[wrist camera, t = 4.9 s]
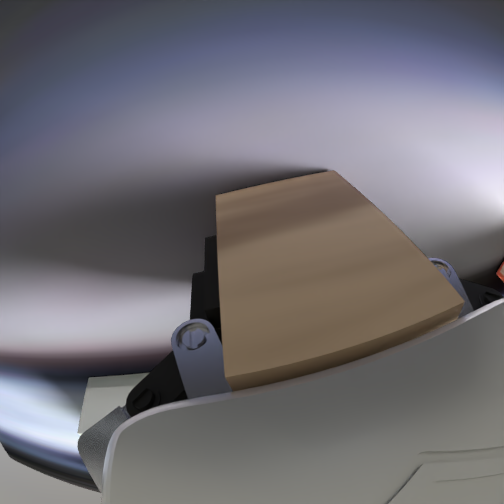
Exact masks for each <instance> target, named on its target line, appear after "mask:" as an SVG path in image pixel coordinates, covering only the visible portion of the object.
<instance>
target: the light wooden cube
mask: <svg viewBox="0 0 504 504" xmlns="http://www.w3.org/2000/svg"><path fill="white" fill-rule="evenodd" d="M216 226H217V254H218V277H219V297H220V315H221V331H222V346H223V359H224V372H225V378H226V380H227V382H228V384H229V385H230V387H231V389H232V390H233V391H238V390H243V389H248V388H253V387H258V386H263V385H268V384H272V383H277V382H281V381H285V380H289V379H294V378H297V377H301V376H305V375H309V374H313V373H316V372H320V371H323V370H327V369H330V368H333V367H337V366H340V365H343V364H346V363H350V362H353V361H356V360H359V359H362V358H365V357H368V356H370V355H373V354H376V353H379V352H382V351H384V350H387V349H390V348H392V347H395V346H397V345H400V344H402V343H405V342H407V341H410V340H412V339H415V338H417V337H420V336H422V335H424V334H427V333H429V332H431V331H433V330H436V329H438V328H440V327H442V326H444V325H446V324H449V323H451V322H453V321H455V320H457V319H458V316H459V314H460V312H461V309H462V307H463V305H464V302H465V301H464V300H463V298H462V297H461V296H460V295H459V294H458V292H457V291H456V290H455V289H454V287H453V286H452V285H451V284H450V283H449V282H448V280H447V279H446V278H445V277H444V276H443V275H442V273H441V272H440V271H439V270H438V269H437V268H436V267H435V266H434V265H433V263H432V262H431V261H430V260H429V259H428V258H427V257H426V256H425V255H424V254H423V253H422V252H421V250H420V249H419V248H418V247H417V246H416V245H415V244H414V243H413V242H412V241H411V240H410V239H409V238H408V237H407V236H406V235H405V234H404V233H403V232H402V231H401V230H400V229H399V228H398V227H397V226H396V225H395V224H394V223H393V222H392V221H391V220H390V219H389V218H388V217H387V216H386V215H384V214H383V213H382V212H381V211H380V210H379V209H378V208H377V207H376V206H375V205H374V204H373V203H372V202H370V201H369V200H368V199H367V198H366V197H365V196H364V195H363V194H361V193H360V192H359V191H358V190H357V189H356V188H355V187H353V186H352V185H351V184H350V183H349V182H348V181H346V180H345V179H344V178H343V177H342V176H340V175H339V174H338V173H337V172H336V171H334V170H333V171H327V172H322V173H316V174H311V175H306V176H301V177H295V178H291V179H286V180H281V181H276V182H271V183H267V184H262V185H258V186H253V187H249V188H244V189H240V190H236V191H232V192H228V193H223V194H219V195H216Z"/></svg>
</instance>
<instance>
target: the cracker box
mask: <svg viewBox="0 0 504 504" xmlns="http://www.w3.org/2000/svg"><path fill="white" fill-rule="evenodd" d="M496 274H497V275H498V276H499V278H500V279H501V280H502V281H503V282H504V261H503V263H502V264H501V266H500V267H499V269H498V271H497V272H496Z"/></svg>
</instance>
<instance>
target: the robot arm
mask: <svg viewBox="0 0 504 504" xmlns="http://www.w3.org/2000/svg"><path fill="white" fill-rule="evenodd" d="M428 259H429V260H430V261H431V262H432V263H433V265H434V266H435V267H436V268H437V269H438V270H439V271H440V272H441V273H442V275H443V276H444V277H445V278H446V279H447V280H448V282H449V283H450V284H451V285H452V286H453V287H454V289H455V290H456V291H457V292H458V294H459V295H460V296H461V297H462V298H463V300H464V301H465V302H464V305H463V307H462V309H461V312H460V314H459V316H458V319H457V320H455V321H453V322H451V323H449V324H446V325H444V326H442V327H440V328H438V329H436V330H433V331H431V332H429V333H427V334H424V335H422V336H420V337H417V338H415V339H412V340H410V341H407V342H405V343H402V344H400V345H397V346H395V347H392V348H390V349H387V350H384V351H382V352H379V353H376V354H373V355H370V356H368V357H365V358H362V359H359V360H356V361H353V362H350V363H346V364H343V365H340V366H337V367H333V368H330V369H327V370H323V371H320V372H316V373H313V374H309V375H305V376H301V377H297V378H294V379H289V380H285V381H281V382H277V383H272V384H268V385H263V386H258V387H253V388H248V389H243V390H238V391H233V390H232V389H231V387H230V385H229V384H228V382H227V380H226V378H225V372H224V359H223V346H222V331H221V315H220V297H219V277H218V254H217V235H215V236H211V237H207V238H205V265H204V271H203V272H199V273H194V274H193V277H192V292H191V310H190V320H189V321H186V322H184V323H182V324H181V325H180V326H179V327H177V328H176V330H175V331H174V333H173V335H172V338H171V344H172V348H173V351H172V352H171V353H170V354H169V355H168V356H167V357H166V358H165V359H164V360H163V361H161V362H160V363H159V364H158V365H157V366H156V367H155V368H154V369H153V370H152V371H151V372H150V373H149V374H148V375H147V376H146V377H145V378H143V379H142V380H141V381H140V382H139V383H138V384H137V385H136V386H135V387H134V388H133V389H132V390H131V391H130V393H129V394H128V397H127V399H126V405H125V406H123V407H122V408H121V407H120V406H118V407H117V408H115V409H114V410H113V411H111V412H110V413H109V414H107V415H106V416H105V417H104V418H102V419H101V420H100V421H98V422H97V423H96V424H94V425H93V426H92V427H90V428H89V429H88V430H86V431H85V432H84V433H83V434H82V435H81V436H80V438H79V440H78V451H79V454H80V456H81V458H82V460H83V462H84V463H85V465H86V467H87V469H88V471H89V473H90V475H91V476H92V478H93V480H94V482H95V483H96V485H97V487H98V488H99V490H100V492H101V493H102V497H101V504H504V297H503V296H502V295H501V294H500V293H499V292H498V291H497V290H495V289H492V288H489V287H486V286H483V285H479V284H476V283H473V282H469V281H466V280H462V279H459V278H458V276H457V274H456V272H455V270H454V269H453V267H452V266H451V265H450V264H449V263H448V262H446V261H444V260H442V259H439V258H428Z"/></svg>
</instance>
